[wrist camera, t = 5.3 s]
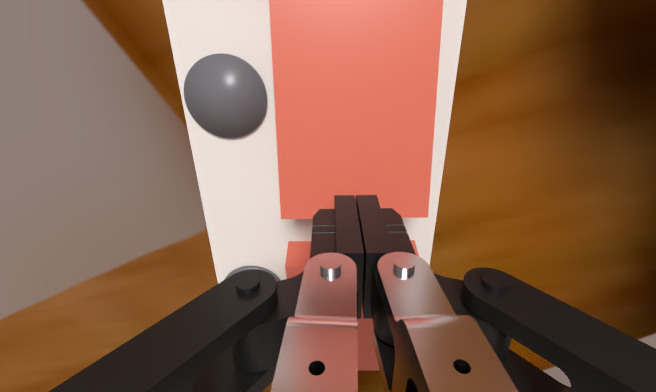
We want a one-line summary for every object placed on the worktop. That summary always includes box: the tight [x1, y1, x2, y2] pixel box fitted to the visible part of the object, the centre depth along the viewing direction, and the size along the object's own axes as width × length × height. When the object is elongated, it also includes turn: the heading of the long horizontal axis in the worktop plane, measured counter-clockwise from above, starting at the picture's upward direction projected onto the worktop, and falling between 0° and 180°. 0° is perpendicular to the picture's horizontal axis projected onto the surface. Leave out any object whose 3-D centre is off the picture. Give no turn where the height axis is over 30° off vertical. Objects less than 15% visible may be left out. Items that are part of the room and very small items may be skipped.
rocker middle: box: [269, 0, 443, 219], centre depth 14 cm, size 6×9×2 cm, turn 1°
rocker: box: [285, 240, 419, 371], centre depth 19 cm, size 6×9×2 cm, turn 1°
